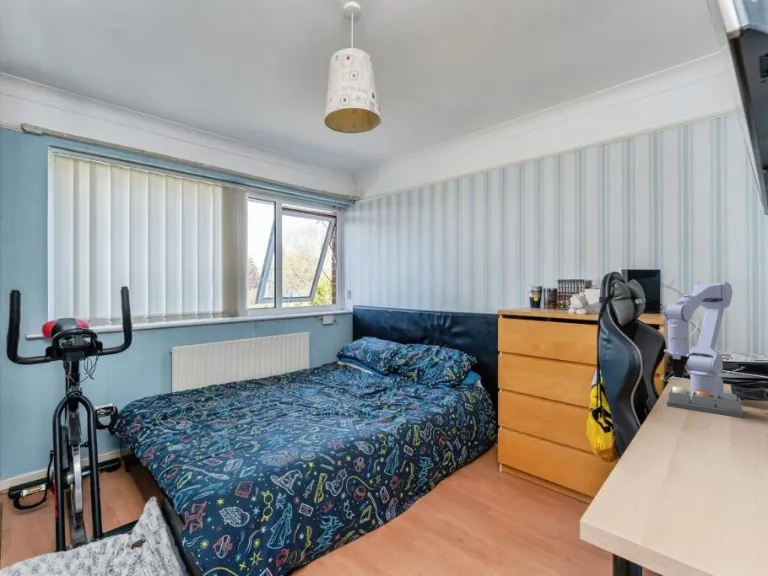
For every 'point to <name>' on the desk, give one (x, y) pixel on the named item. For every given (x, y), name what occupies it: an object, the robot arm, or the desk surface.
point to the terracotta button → (703, 393)
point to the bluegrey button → (728, 396)
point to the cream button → (679, 390)
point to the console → (705, 404)
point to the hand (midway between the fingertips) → (678, 376)
